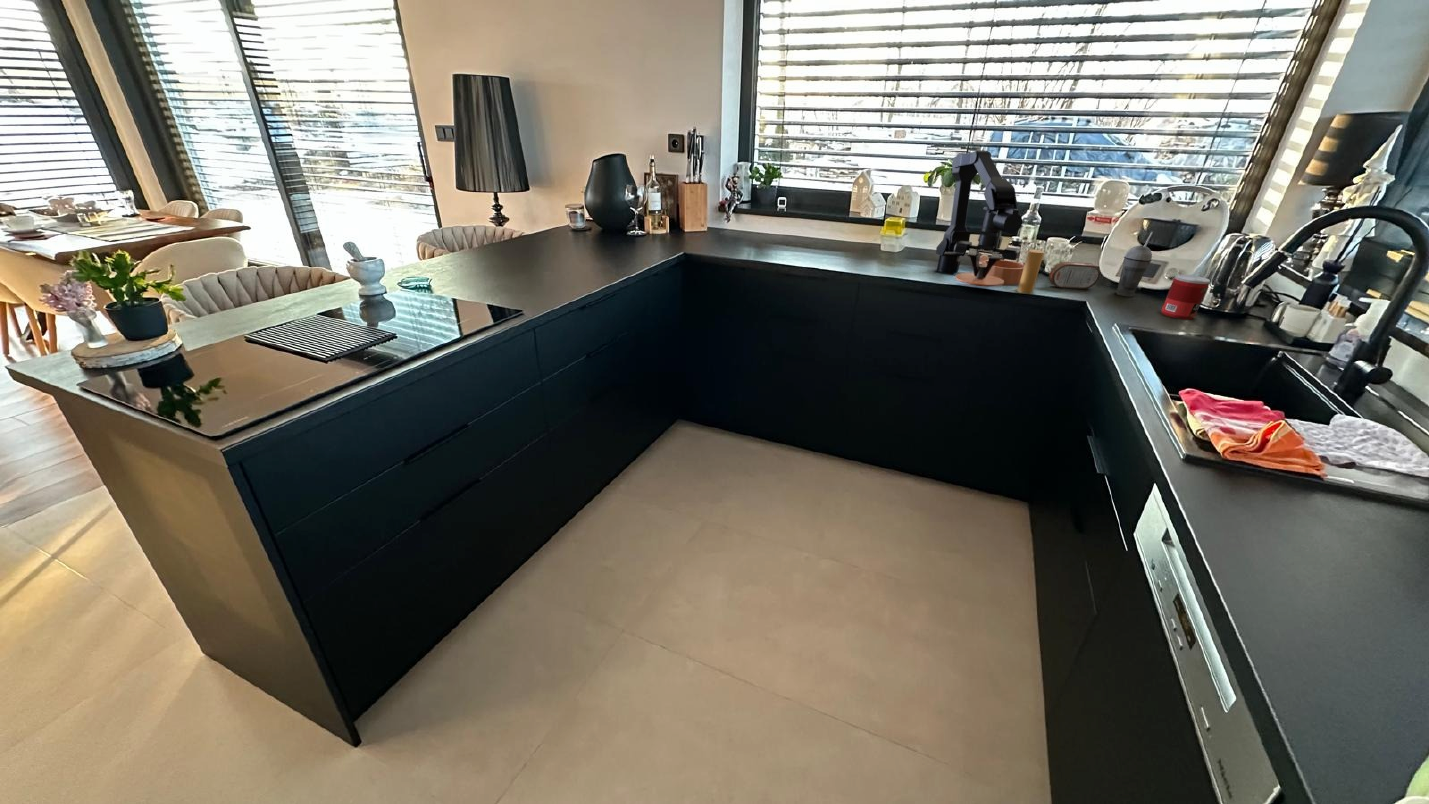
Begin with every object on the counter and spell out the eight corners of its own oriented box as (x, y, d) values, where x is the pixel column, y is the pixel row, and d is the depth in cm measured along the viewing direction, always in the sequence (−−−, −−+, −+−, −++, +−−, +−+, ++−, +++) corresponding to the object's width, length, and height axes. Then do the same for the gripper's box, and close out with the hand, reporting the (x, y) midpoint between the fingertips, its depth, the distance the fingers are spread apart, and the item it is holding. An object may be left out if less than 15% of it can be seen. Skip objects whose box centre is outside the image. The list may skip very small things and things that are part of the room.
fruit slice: (1000, 272, 204) (1003, 258, 202) (982, 271, 203) (986, 258, 201) (988, 266, 211) (992, 253, 209) (971, 266, 211) (974, 253, 208)
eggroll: (1016, 291, 180) (1027, 251, 174) (1019, 289, 183) (1030, 249, 177) (1030, 294, 178) (1042, 253, 172) (1033, 291, 181) (1045, 251, 175)
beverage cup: (1114, 290, 185) (1136, 228, 176) (1140, 294, 180) (1164, 231, 171) (1108, 294, 180) (1131, 230, 171) (1135, 299, 176) (1159, 234, 167)
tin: (1091, 287, 187) (1100, 262, 183) (1096, 290, 184) (1105, 264, 180) (1045, 285, 188) (1052, 260, 184) (1049, 288, 185) (1057, 262, 181)
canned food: (1195, 321, 157) (1212, 283, 152) (1161, 316, 160) (1176, 278, 155) (1192, 314, 162) (1208, 277, 157) (1159, 309, 166) (1173, 273, 161)
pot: (974, 280, 193) (978, 264, 190) (984, 272, 202) (988, 257, 200) (1017, 287, 185) (1021, 270, 183) (1025, 279, 195) (1030, 263, 192)
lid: (949, 282, 180) (952, 266, 178) (962, 273, 191) (965, 258, 188) (997, 290, 173) (1001, 274, 170) (1007, 281, 183) (1012, 266, 181)
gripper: (1030, 228, 175) (1016, 277, 182) (968, 220, 184) (958, 267, 192) (1022, 232, 167) (1008, 284, 174) (958, 225, 177) (948, 273, 184)
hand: (980, 277), depth 181 cm, fingers closed on lid, 2 cm apart
